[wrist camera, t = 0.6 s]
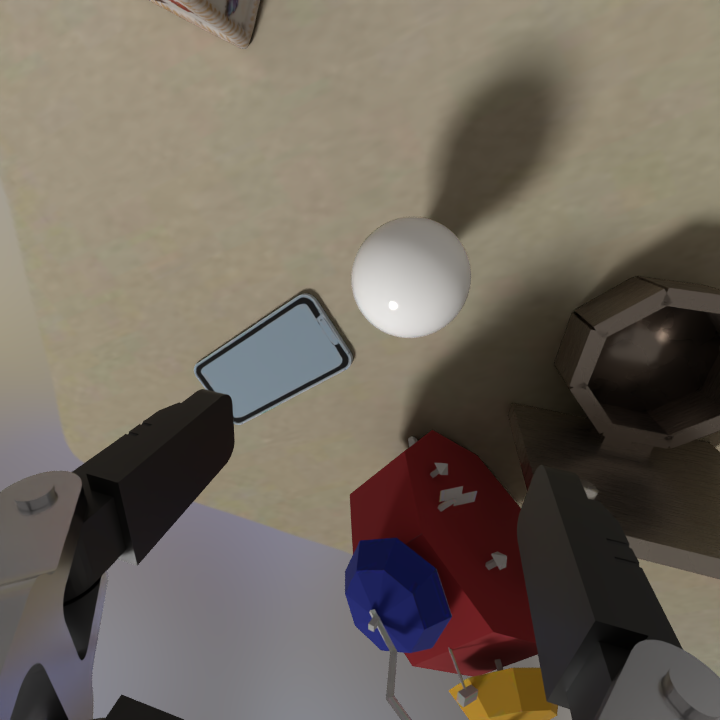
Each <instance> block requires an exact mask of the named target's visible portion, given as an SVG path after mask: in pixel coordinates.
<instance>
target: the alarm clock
mask: <svg viewBox="0 0 720 720" xmlns="http://www.w3.org/2000/svg"><path fill="white" fill-rule="evenodd" d="M408 442H409V448H408V449H407V450H405V451H404V452H403V453H401V454H400V455H399V456H398V457H396V458H395V459H394V460H393V461H391V462H390V463H389V464H388V465H386V466H385V467H384V468H383V469H381V470H380V471H379V472H378V473H376V474H375V475H374V476H372V477H371V478H370V479H369V480H367V481H366V482H365V483H364V484H362V485H361V486H360V487H359V488H357V489H356V490H355V491H354V492H352V493H351V494H350V507H351V525H352V544H353V556H352V558H351V560H350V562H349V564H348V567H347V569H346V571H345V595H346V598H347V601H348V604H349V607H350V611H351V614H352V617H353V621H354V624H355V626H356V627H357V628H358V629H359V630H360V631H361V632H362V633H364V635H366V636H367V637H368V638H369V639H370V640H371V641H372V642H373V643H374V644H375V645H376V646H377V647H378V648H379V649H380V650H384V651H390V661H389V671H388V683H387V694H386V700H387V701H388V703H389V704H390V705H391V706H392V708H393V709H394V711H395V712H396V713H397V715H398V716H399V717H400V719H401V720H412V719H411V718H410V717H409V715H408V714H407V713H406V711H405V710H404V709H403V707H402V706H401V705H400V703H399V702H398V700H397V699H396V698H395V696H394V687H395V674H396V660H397V652H403V653H404V654H405V655H406V657H407V658H408V660H409V661H410V663H411V664H412V666H415V667H421V668H427V669H433V670H439V671H444V672H450V673H456V674H458V675H459V678H460V681H461V683H460V684H458V685H456V686H455V687H453V688H452V689H450V690H449V692H450V693H451V695H452V696H453V697H454V699H455V700H456V701H457V703H458V704H459V706H460V707H461V709H462V710H463V712H464V713H465V714H466V716H467V717H468V719H469V720H550V719H551V718H554V717H555V716H557V709H558V705H556V704H553V703H549V702H547V701H546V695H545V690H544V684H543V679H542V673H541V668H509V669H505V670H503V667H504V666H507V665H509V664H512V663H515V662H518V661H521V660H523V659H526V658H529V657H532V656H534V655H537V654H538V651H537V645H536V640H535V634H534V629H533V623H532V618H531V612H530V607H529V601H528V595H527V590H526V584H525V579H524V573H523V568H522V562H521V557H520V551H519V545H518V539H517V523H518V517H519V513H520V510H521V508H520V507H519V506H518V504H517V503H516V502H515V501H514V500H513V498H512V497H511V496H510V495H509V493H508V492H507V491H506V490H505V489H504V487H503V486H502V485H501V484H500V483H499V481H498V480H497V479H496V478H495V476H494V475H493V474H492V473H491V472H490V470H489V469H488V468H487V467H486V466H485V464H484V463H483V462H482V461H481V459H480V458H479V457H478V456H477V455H475V454H474V453H472V452H470V451H468V450H467V449H465V448H463V447H461V446H460V445H458V444H456V443H454V442H453V441H451V440H449V439H447V438H446V437H444V436H442V435H440V434H439V433H437V432H435V431H433V430H431V431H430V432H429V433H427V434H426V435H425V436H424V437H422V438H421V439H420V440H417V439H416V438H415V437H413V436H411V437H410V438H409V439H408ZM496 669H497V671H496V672H492V673H488V672H490V671H493V670H496ZM485 673H487V674H485ZM461 674H462V675H468V676H473V677H470V678H467V679H465V680H464V681H463V679H462V676H461ZM482 674H483V675H482Z"/></svg>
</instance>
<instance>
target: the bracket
mask: <svg viewBox="0 0 720 720" xmlns="http://www.w3.org/2000/svg"><path fill="white" fill-rule="evenodd" d="M575 312H576V313H572V314H571V317H570V320H569V323H568V325H567V328H566V331H565V334H564V337H563V340H562V342H561V345H560V348H559V351H558V354H557V357H556V359H555V362H554V363H555V367H556V369H557V370H558V372H559V373H560V375H561V376H562V378H563V380H564V381H565V383H566V384H567V386H568V388H569V389H570V391H571V392H572V394H573V395H574V397H575V398H576V400H577V401H578V402H579V404H580V405H581V407H582V408H583V410H584V411H585V413H586V414H587V416H588V417H589V418H585V417H580V416H575V415H570V414H565V413H560V412H555V411H550V410H545V409H540V408H535V407H530V406H525V405H520V404H515V403H512V405H511V408H510V411H509V414H508V417H509V421H510V425H511V429H512V433H513V437H514V441H515V445H516V449H517V452H518V456H519V460H520V464H521V468H522V472H523V476H524V480H525V484H526V488H527V491H528V489H529V487H530V484H531V481H532V479H533V476H534V473H535V471H536V469H537V468H538V467H539V466H540V465H542V466H547V467H551V468H556V469H560V470H565V471H569V472H574V473H576V474H577V475H578V477H579V479H580V481H581V483H582V485H583V488H584V490H585V492H586V494H587V497H588V499H592V500H596V501H599V502H600V503H601V504H602V505H603V506H604V507H605V508H606V509H607V510H608V511H609V512H610V513H611V514H612V515H613V516H614V518H615V519H616V520H617V521H618V522H619V524H620V526H621V528H622V530H623V532H624V534H625V536H626V538H627V540H628V542H629V547H630V548H632V550H633V552H634V554H635V556H636V557H637V558H639V559H643V560H647V561H650V562H654V563H658V564H662V565H666V566H670V567H674V568H678V569H682V570H686V571H689V572H693V573H697V574H701V575H705V576H709V577H713V578H717V579H720V452H719V451H718V450H717V449H716V448H715V447H714V446H713V445H712V444H711V443H709V442H704V441H699V440H696V439H698V438H701V437H704V436H706V435H709V434H712V433H714V432H717V431H720V290H718V289H715V288H712V287H709V286H705V285H700V284H693V283H685V282H678V281H671V280H663V279H656V278H649V277H642V276H637V277H636V278H635V277H632V278H630V279H628V280H627V281H625V282H623V283H621V284H619V285H618V286H616V287H614V288H612V289H611V290H609V291H607V292H605V293H604V294H602V295H600V296H598V297H597V298H595V299H593V300H591V301H589V302H588V303H586V304H584V305H582V306H581V307H579V308H577V309H575Z"/></svg>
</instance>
